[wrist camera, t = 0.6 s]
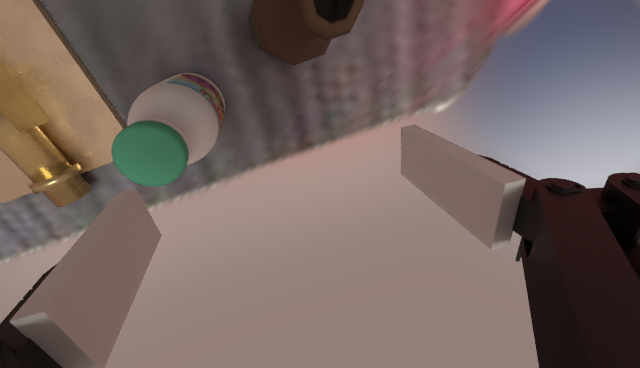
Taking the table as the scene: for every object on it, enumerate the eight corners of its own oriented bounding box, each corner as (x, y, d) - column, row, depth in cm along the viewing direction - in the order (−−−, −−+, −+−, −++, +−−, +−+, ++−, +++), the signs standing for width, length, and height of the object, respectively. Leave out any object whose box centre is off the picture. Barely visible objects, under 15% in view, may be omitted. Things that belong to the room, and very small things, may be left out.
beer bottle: (279, 72, 37) (323, 109, 16) (234, 20, 33) (217, -20, 12) (322, 30, 36) (430, 12, 15) (281, -29, 32) (349, -162, 11)
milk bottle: (183, 140, 38) (132, 222, 21) (148, 85, 34) (48, 129, 17) (236, 119, 38) (228, 182, 21) (206, 62, 34) (168, 81, 17)
